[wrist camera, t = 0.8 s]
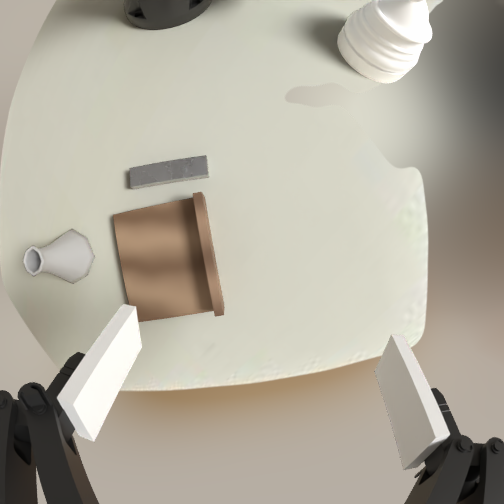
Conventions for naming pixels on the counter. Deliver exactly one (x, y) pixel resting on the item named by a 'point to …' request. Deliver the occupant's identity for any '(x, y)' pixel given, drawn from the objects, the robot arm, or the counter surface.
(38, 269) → the flask
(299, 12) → the counter surface
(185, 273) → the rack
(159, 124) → the counter surface
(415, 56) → the honey pot
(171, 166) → the grey rectangular bar
